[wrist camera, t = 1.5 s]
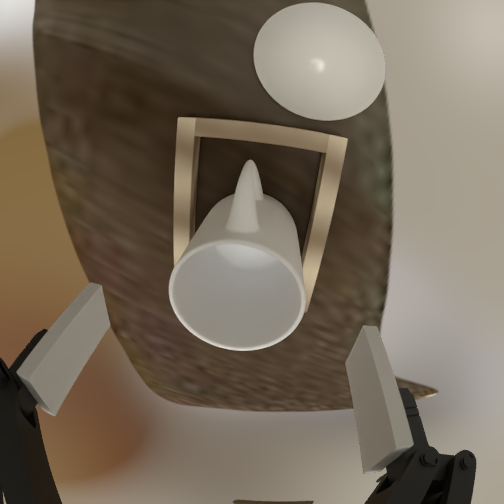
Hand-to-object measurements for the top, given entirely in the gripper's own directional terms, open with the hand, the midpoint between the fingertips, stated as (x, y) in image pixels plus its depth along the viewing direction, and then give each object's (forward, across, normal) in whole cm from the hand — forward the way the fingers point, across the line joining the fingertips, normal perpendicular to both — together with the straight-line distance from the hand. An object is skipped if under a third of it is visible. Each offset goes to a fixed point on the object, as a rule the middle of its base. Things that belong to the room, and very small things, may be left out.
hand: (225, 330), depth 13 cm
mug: (+15, 0, 0) cm, 15 cm away
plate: (+14, +4, +16) cm, 21 cm away
